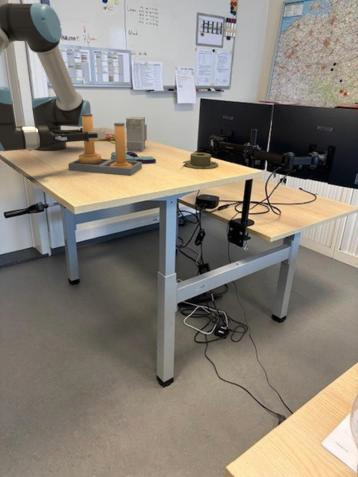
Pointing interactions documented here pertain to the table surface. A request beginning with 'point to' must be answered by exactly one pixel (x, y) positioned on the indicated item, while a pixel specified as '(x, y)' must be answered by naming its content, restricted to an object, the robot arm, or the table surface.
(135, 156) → the pistol
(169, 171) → the table surface
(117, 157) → the orange capped peg
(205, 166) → the flange
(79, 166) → the tray
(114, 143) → the mechanical gear assembly
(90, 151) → the orange joystick peg
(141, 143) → the circuit breaker
